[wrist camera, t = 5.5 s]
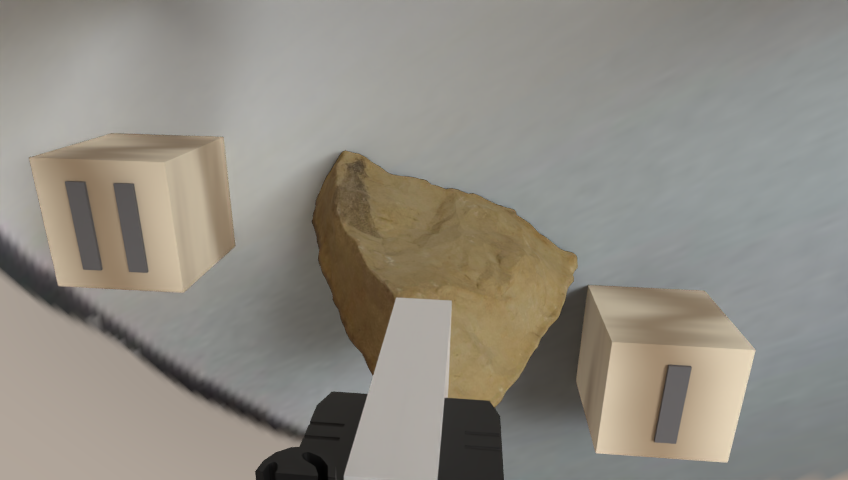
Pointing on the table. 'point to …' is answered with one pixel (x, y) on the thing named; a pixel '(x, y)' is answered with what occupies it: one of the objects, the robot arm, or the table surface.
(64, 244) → the birch block
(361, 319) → the rock
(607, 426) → the birch block
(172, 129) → the table surface
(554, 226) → the table surface
